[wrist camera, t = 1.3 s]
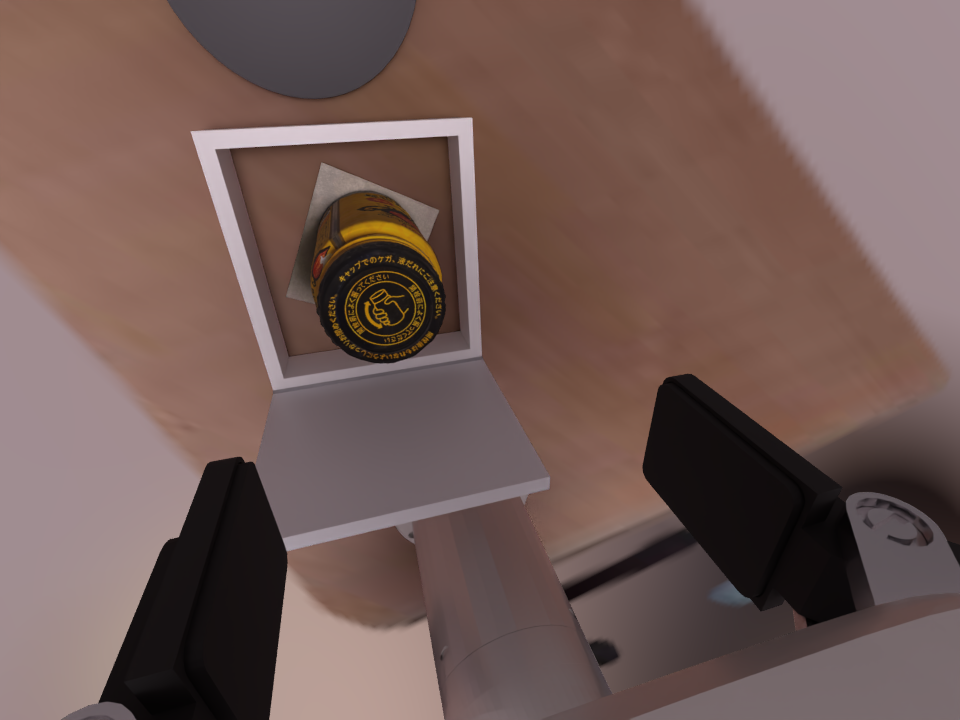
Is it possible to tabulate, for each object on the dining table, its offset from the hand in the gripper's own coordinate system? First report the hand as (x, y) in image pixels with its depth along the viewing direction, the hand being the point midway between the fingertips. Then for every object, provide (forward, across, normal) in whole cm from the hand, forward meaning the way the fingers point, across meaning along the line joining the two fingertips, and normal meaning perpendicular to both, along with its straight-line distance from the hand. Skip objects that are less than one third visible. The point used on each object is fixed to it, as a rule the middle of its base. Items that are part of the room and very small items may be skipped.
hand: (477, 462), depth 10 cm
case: (+22, +2, +1) cm, 22 cm away
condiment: (+22, +2, +1) cm, 22 cm away
